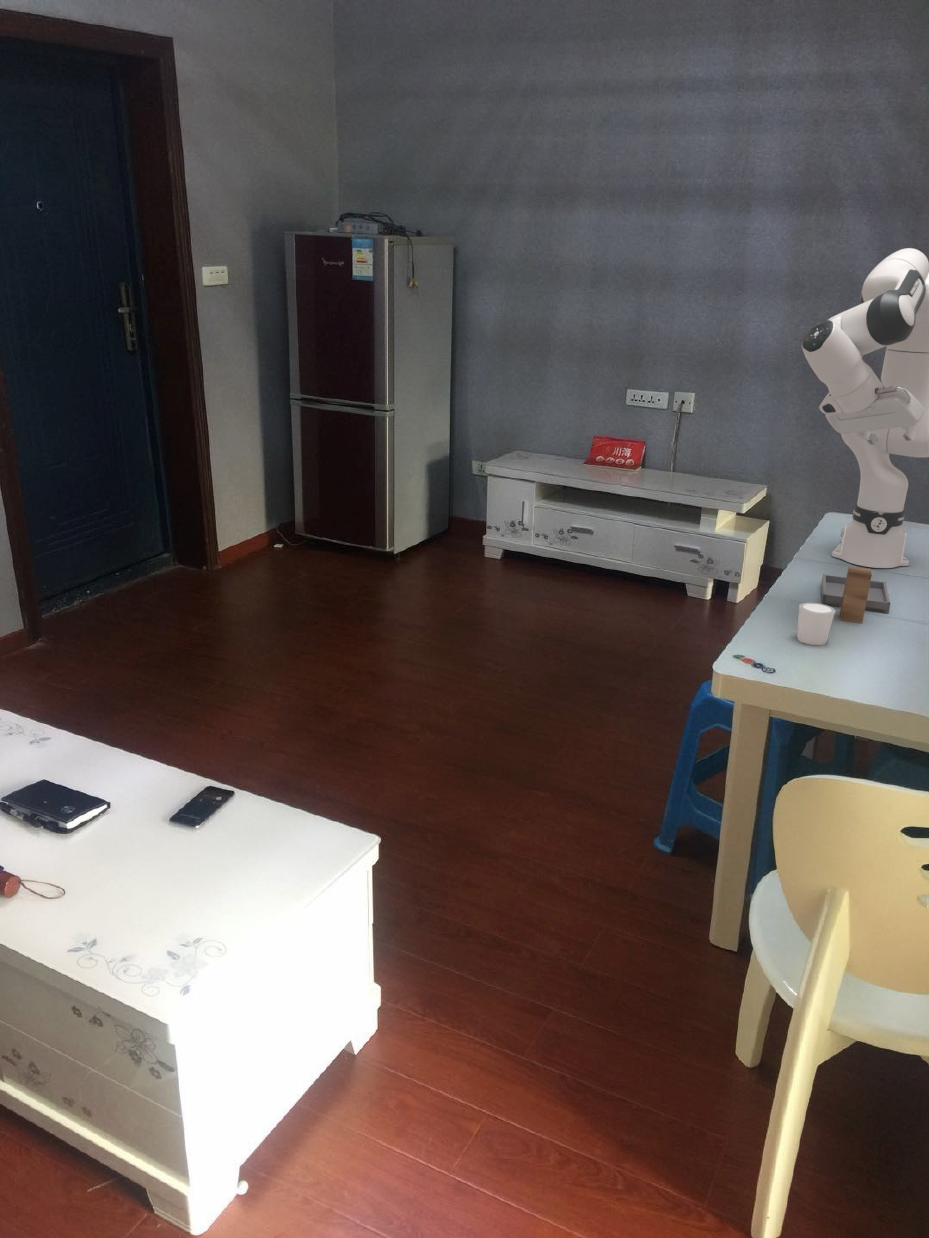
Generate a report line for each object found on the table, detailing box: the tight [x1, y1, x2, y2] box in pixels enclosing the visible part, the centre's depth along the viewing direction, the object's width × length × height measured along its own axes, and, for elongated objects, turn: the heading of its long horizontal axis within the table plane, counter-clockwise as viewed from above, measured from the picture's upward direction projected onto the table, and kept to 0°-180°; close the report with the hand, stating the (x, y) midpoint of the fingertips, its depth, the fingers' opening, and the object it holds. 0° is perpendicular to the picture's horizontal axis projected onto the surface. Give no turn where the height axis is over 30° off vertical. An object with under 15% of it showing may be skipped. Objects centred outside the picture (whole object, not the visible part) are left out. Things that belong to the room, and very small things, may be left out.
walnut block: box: [839, 565, 873, 625], centre depth 207 cm, size 4×4×11 cm
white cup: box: [796, 602, 836, 646], centre depth 195 cm, size 7×7×7 cm
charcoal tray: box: [820, 573, 891, 614], centre depth 221 cm, size 16×14×2 cm
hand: (892, 440), depth 200 cm, fingers open, 8 cm apart
